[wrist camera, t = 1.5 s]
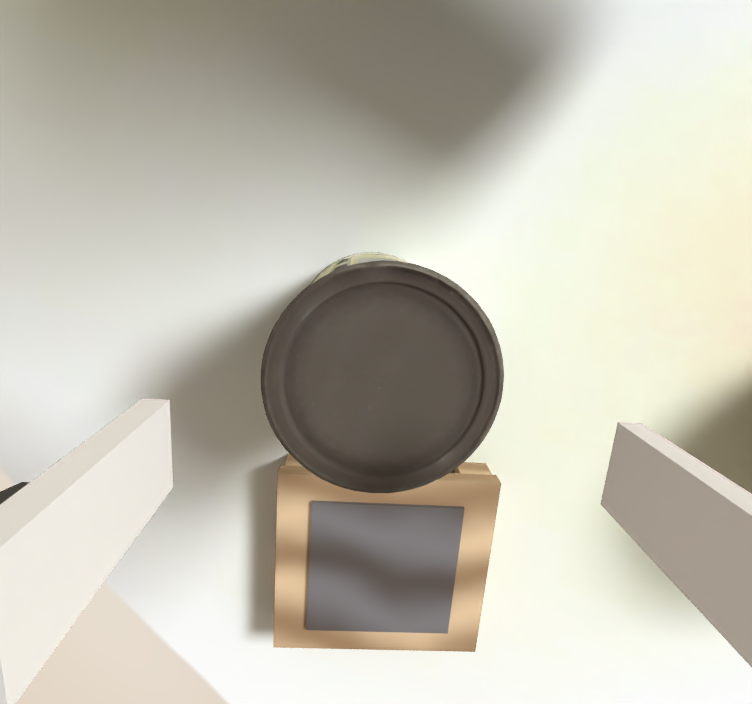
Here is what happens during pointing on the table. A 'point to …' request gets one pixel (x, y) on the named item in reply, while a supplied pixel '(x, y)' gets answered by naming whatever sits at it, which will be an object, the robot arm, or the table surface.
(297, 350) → the coffee can
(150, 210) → the table surface
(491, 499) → the dock
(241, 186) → the table surface
